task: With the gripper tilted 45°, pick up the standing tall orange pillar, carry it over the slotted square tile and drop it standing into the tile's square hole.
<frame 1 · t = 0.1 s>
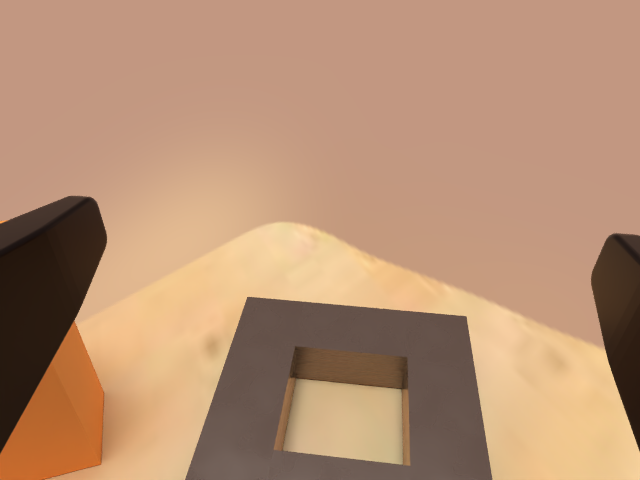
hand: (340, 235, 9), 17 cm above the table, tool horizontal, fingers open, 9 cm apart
tall orange pillar: (58, 437, 24), on the table
slotted square tile: (344, 430, 24), on the table
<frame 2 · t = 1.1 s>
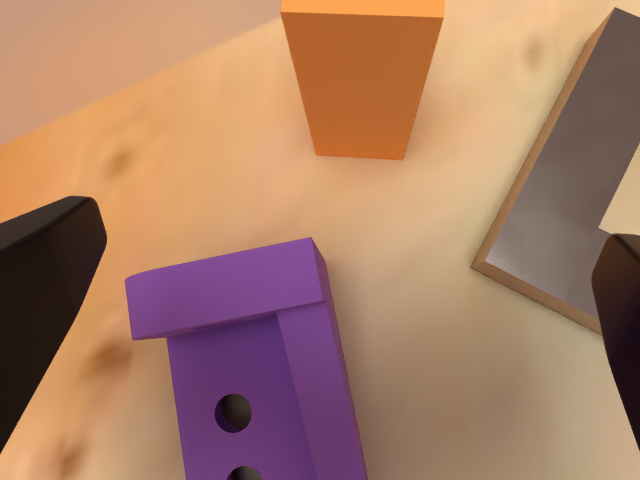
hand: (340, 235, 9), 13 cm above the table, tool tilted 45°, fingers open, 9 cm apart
bracket: (275, 409, 22), on the table
tall orange pillar: (362, 116, 23), on the table
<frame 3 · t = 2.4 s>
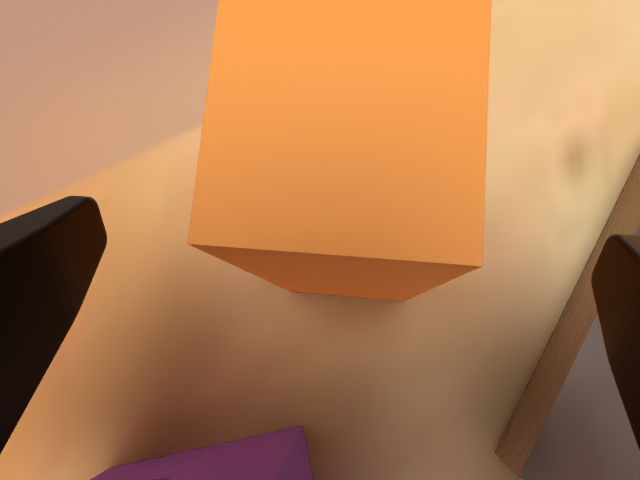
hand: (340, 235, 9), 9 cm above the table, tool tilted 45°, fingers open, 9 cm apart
tall orange pillar: (351, 240, 18), on the table
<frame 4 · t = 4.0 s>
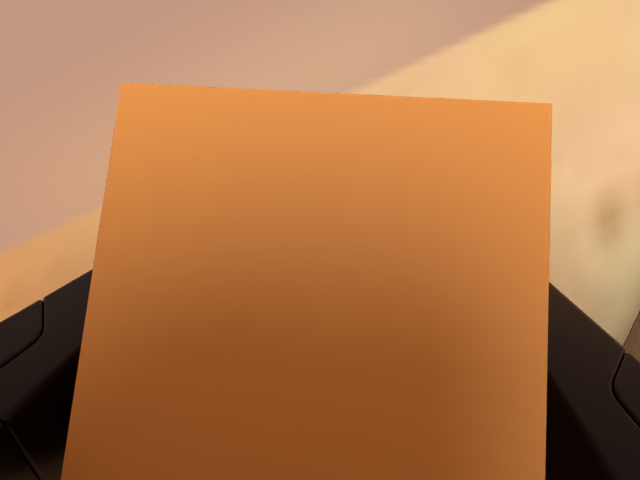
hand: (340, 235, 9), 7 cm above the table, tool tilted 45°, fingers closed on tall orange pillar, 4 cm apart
tall orange pillar: (343, 315, 15), on the table, touching gripper
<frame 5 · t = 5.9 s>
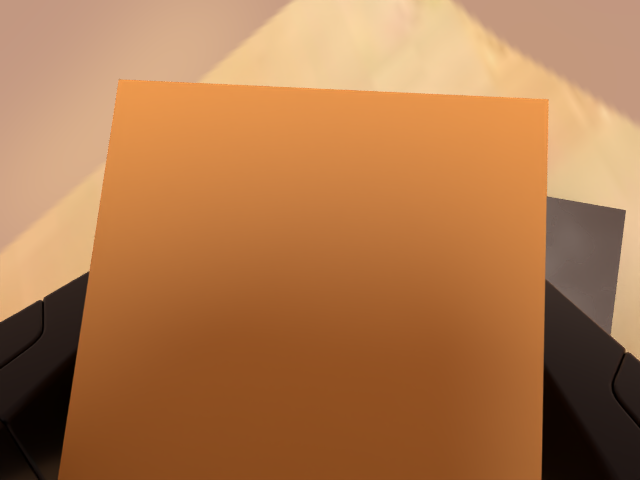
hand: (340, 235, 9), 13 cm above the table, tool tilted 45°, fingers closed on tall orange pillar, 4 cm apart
tall orange pillar: (342, 313, 15), point 7 cm above the table, touching gripper
slotted square tile: (433, 331, 22), on the table
when the fingers open (8 cm above the table, at t = 7.8 s): tall orange pillar drops 1 cm, resting in slotted square tile.
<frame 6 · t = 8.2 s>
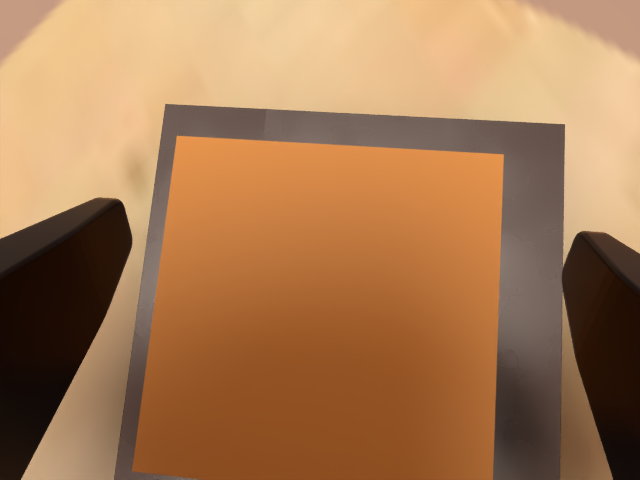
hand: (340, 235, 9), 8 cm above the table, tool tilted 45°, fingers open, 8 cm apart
tall orange pillar: (345, 314, 17), resting in slotted square tile
slotted square tile: (344, 315, 17), on the table
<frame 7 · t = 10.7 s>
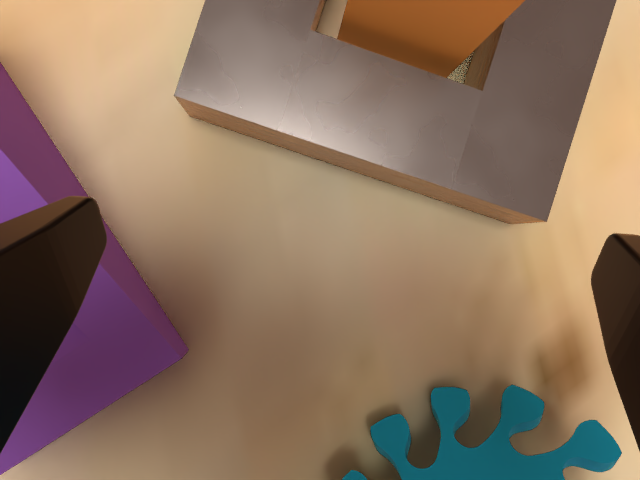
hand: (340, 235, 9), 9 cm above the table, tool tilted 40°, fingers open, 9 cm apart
bracket: (13, 256, 17), on the table
tall orange pillar: (405, 11, 18), resting in slotted square tile
slotted square tile: (405, 11, 18), on the table
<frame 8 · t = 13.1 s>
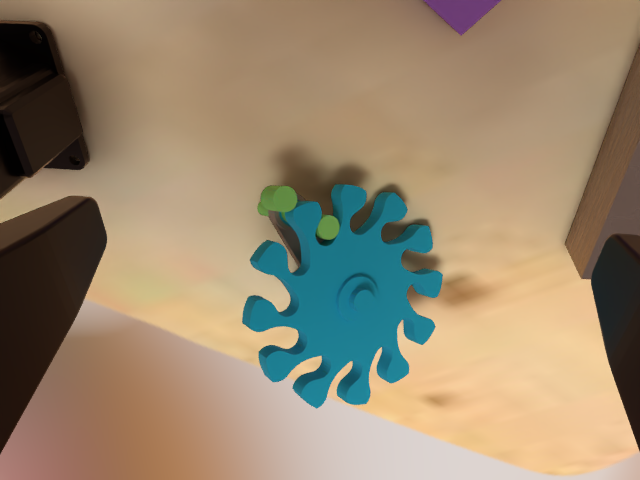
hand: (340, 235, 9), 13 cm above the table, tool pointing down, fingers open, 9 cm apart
gear: (349, 236, 25), on the table
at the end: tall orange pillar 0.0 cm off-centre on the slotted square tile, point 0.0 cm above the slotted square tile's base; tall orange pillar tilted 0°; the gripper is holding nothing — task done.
